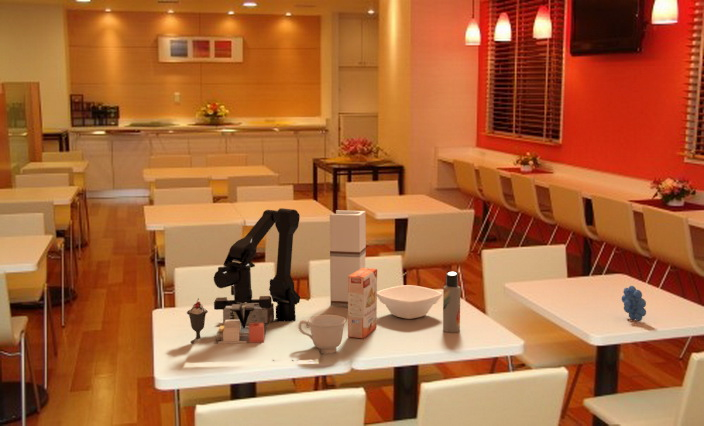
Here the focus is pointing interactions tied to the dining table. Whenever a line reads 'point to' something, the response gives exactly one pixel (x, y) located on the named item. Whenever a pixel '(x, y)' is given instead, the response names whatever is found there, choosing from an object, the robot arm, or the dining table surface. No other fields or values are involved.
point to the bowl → (409, 300)
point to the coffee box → (251, 314)
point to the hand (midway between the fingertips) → (244, 327)
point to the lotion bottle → (451, 303)
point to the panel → (243, 336)
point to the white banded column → (345, 251)
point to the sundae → (197, 318)
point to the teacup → (325, 331)
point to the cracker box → (362, 302)
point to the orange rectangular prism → (256, 332)
